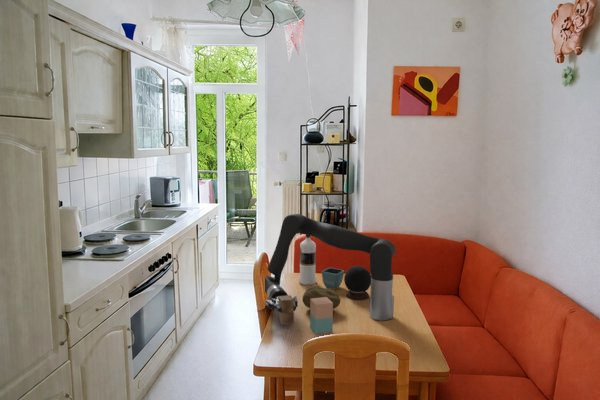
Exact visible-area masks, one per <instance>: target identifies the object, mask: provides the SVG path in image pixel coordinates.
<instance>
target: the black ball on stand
mask: <svg viewBox="0 0 600 400" xmlns="http://www.w3.org/2000/svg"><path fill="white" fill-rule="evenodd" d="M343 282H344V285H345V287H346V288H347V289H348V291H347V292H346V293H345V298H347V299H349V300H352V301H353V300H354V301H365V299H366V300H368V299H369V298H370V294H369V293H368V292H367V291H368V290H370V288H371V272H370V270H368V269H367V268H365V267H364V266H361V265H354V266H351V267H349V268H348V269H347V270H346V272H344V275H343Z"/></svg>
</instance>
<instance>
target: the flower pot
mask: <svg viewBox="0 0 600 400" xmlns="http://www.w3.org/2000/svg"><path fill="white" fill-rule="evenodd" d="M344 276H345V270H343V269H339V268H334V267H328V268H326V269H323V270H322V271H321V278H322V282H323V285H324V287H325V289H329V290H336V289H338V288H339V287H340V286H341V284H342V283H343V281H344Z"/></svg>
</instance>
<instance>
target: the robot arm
mask: <svg viewBox="0 0 600 400" xmlns="http://www.w3.org/2000/svg"><path fill="white" fill-rule="evenodd" d="M297 234H300V235H305V236H306V235H310V236H311V237H313V238H316V239H317V240H319V241H320V242H322V243H324V244H326V245H327V246H331V247H333V248H336V249H341V250H346V251H357V252H364V253H366V254H369V273H370V274H371V285H370V294H369V298H370V299H369V317H370V318H371V319H373V320H376V321H389V320H391V319H393V318H394V315H395V314H394V307H395V296H394V295H393V287H394V286H393V283H394V281H393V280H394V272H393V270H392V269H393V266H392V265H393V264H392V263H393V262H392V260H393V258H394V256H395V255H396V251H397V248H396V247H395V244H394V243H393V242H391V240H388V239H385V238H381V237H375V236H370V235H366V234H362V233H360V232H357V231H354V230H351V229H348V228H345V227H342V226H339V225H334V224H331V223H330V224H329V223H326V222H321V221H318V220H314V219H313V218H309V217H307V216H306V215H302V214H300V213H291V214H287V215H286V216H285V217H284V218H283V220H282V225H281V227H280V232H279V236H278V240H277V243H276V246H275V248H274V251H273V253H272V255H271V258H270V261H269V263H268V265H267V268H266V269H267V272H269V274H272V275H274V276H271V275H270V276H269V275H267V274H265V275H266V276H265V292H266V296H267V298H268V299H265V307H267V308H268V309H270V310H271V311H273V310H276V311H277V312H278V313H279V312H280V313H282V307H281V306H280V305H279V303H278V296H286V295H288V293H287V292H286V290H285V289H284V288H283V287H282V286H281V278H282V273H283V270H284V269H285V266H286V264H287V261H288V257H289V250H290V246H291V244H292V241H293V239H294V238H295V236H296V235H297ZM292 298H293V299H294V312H295V311H296V310H297V308H298V304H299V303H298V300H299V299H298V296H294V297H292Z"/></svg>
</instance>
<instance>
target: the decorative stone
mask: <svg viewBox="0 0 600 400" xmlns="http://www.w3.org/2000/svg"><path fill="white" fill-rule="evenodd" d="M322 297H327V298H328V299H329V300H330V301H331V302H332V303H333V310H335V309H336V308H338V307H339V305H340V304H341V297H340V296H339V294H338V293H336V292H335V291H333V290H332V289H329V288H323V287H320V286H316V285H311V286H309V287H308V288H307V289H306V290H305V292H304V293H303V295H302V303H303V304H304V306H305V307H307V308H308V309H310V299H312V298H322Z"/></svg>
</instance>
